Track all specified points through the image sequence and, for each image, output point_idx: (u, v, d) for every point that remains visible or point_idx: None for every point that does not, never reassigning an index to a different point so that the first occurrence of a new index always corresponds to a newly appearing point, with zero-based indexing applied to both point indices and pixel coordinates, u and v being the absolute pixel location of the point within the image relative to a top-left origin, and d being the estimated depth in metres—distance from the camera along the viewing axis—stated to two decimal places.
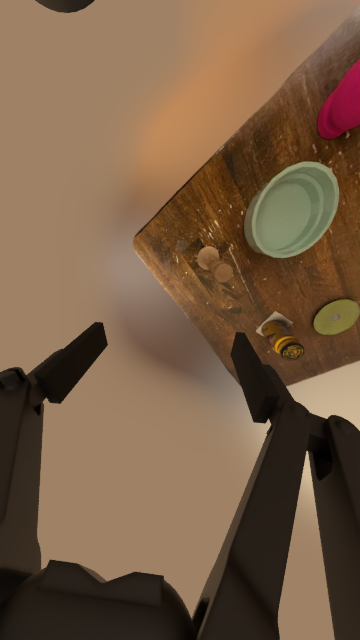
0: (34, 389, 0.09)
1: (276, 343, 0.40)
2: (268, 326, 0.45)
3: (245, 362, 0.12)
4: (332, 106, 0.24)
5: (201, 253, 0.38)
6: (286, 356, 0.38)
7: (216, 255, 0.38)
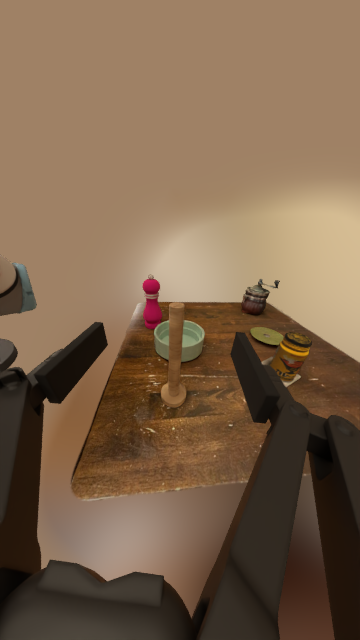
0: (34, 389, 0.09)
1: (291, 352, 0.35)
2: (274, 369, 0.39)
3: (245, 362, 0.12)
4: (148, 320, 0.56)
5: (164, 395, 0.33)
6: (305, 342, 0.34)
7: None
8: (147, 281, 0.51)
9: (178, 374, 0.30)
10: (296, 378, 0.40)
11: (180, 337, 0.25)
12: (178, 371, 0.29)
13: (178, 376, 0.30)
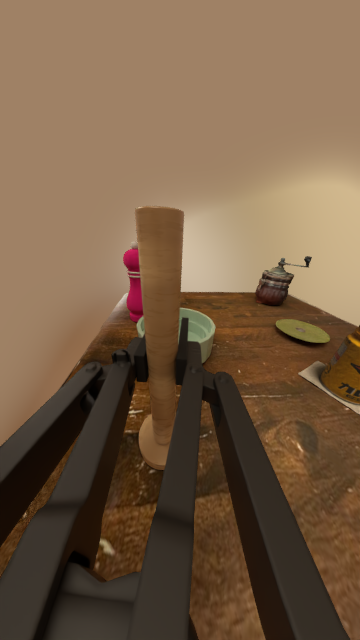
0: (132, 372, 0.11)
1: None
2: (337, 383, 0.23)
3: None
4: (133, 309, 0.40)
5: (145, 441, 0.16)
6: None
7: None
8: (129, 251, 0.35)
9: (171, 405, 0.13)
10: None
11: (173, 316, 0.09)
12: (171, 399, 0.13)
13: (171, 409, 0.14)
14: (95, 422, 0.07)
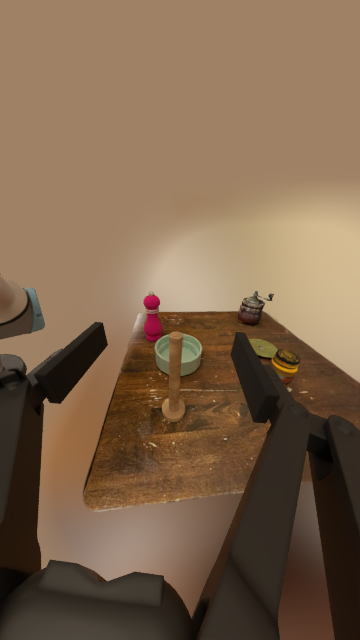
0: (34, 389, 0.09)
1: (281, 368, 0.38)
2: None
3: (245, 362, 0.12)
4: (149, 333, 0.59)
5: (165, 410, 0.35)
6: (294, 359, 0.37)
7: None
8: (148, 298, 0.54)
9: (177, 392, 0.32)
10: None
11: (179, 361, 0.28)
12: (177, 390, 0.32)
13: (177, 394, 0.33)
14: None
